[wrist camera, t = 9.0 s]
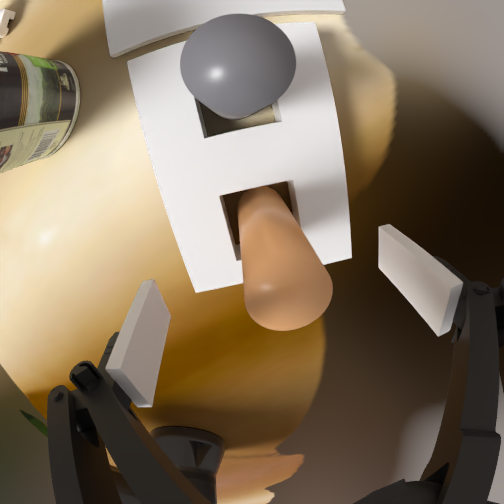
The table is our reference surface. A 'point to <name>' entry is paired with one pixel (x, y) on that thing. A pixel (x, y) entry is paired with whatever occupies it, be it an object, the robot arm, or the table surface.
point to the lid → (189, 17)
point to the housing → (244, 159)
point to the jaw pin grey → (237, 64)
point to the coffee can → (35, 107)
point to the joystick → (5, 21)
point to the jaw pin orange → (279, 264)
